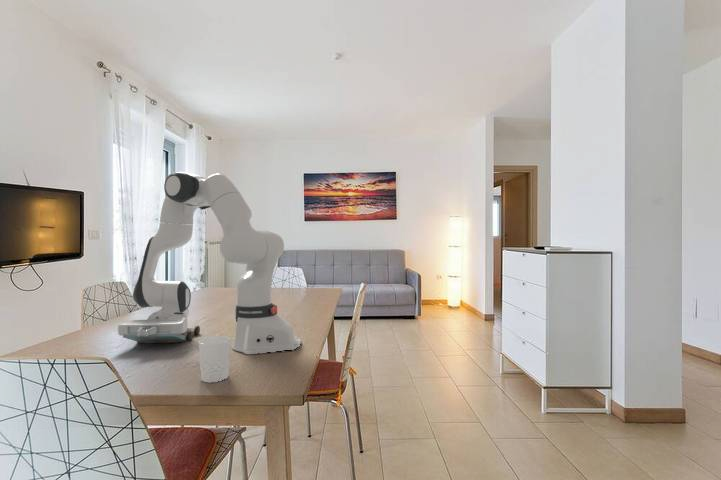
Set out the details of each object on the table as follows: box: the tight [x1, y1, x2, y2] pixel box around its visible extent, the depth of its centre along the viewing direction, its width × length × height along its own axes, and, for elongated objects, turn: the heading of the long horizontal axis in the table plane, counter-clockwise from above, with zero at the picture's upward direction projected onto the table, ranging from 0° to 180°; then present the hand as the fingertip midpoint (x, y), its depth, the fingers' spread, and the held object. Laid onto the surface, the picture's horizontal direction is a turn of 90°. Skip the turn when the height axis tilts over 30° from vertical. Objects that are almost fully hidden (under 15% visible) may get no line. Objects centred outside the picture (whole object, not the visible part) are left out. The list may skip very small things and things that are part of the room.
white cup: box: [197, 335, 232, 384], centre depth 97 cm, size 8×8×10 cm
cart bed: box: [137, 325, 201, 344], centre depth 136 cm, size 18×12×3 cm, turn 96°
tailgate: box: [122, 332, 186, 343], centre depth 125 cm, size 16×2×10 cm
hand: (142, 333), depth 116 cm, fingers closed, pressing on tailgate
